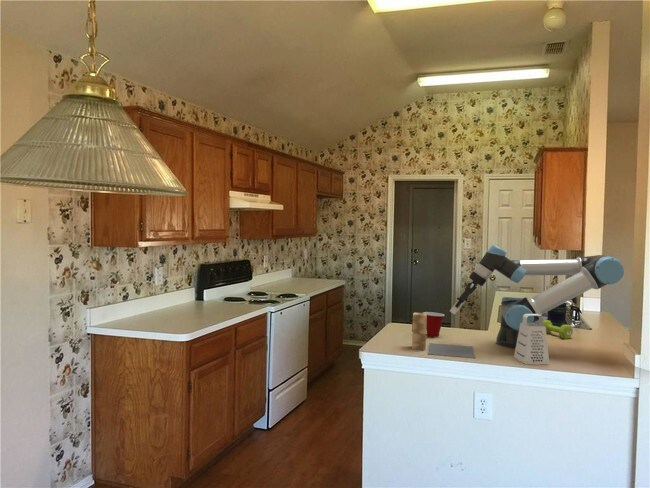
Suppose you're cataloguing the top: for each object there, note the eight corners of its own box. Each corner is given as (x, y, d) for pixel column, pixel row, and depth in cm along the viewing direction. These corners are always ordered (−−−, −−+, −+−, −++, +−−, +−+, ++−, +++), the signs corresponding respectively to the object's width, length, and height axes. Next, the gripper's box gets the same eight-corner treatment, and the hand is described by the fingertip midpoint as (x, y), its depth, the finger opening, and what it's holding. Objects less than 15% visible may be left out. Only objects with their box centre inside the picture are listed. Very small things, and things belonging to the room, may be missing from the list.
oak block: (425, 346, 231) (426, 313, 230) (425, 350, 225) (426, 315, 224) (412, 345, 232) (413, 312, 231) (411, 349, 226) (412, 314, 226)
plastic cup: (448, 336, 252) (449, 313, 251) (433, 339, 246) (434, 315, 245) (432, 332, 261) (433, 310, 260) (418, 335, 255) (418, 312, 254)
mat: (472, 346, 233) (472, 346, 233) (475, 358, 213) (475, 357, 213) (429, 343, 237) (429, 343, 237) (428, 354, 218) (428, 353, 218)
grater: (549, 364, 207) (551, 317, 206) (525, 364, 206) (527, 317, 205) (536, 357, 217) (538, 312, 216) (513, 357, 216) (515, 312, 215)
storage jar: (542, 327, 279) (543, 301, 278) (554, 326, 283) (555, 300, 282) (557, 331, 270) (558, 304, 269) (569, 330, 274) (571, 303, 273)
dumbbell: (537, 333, 266) (538, 319, 266) (548, 331, 269) (548, 318, 269) (563, 340, 251) (563, 326, 251) (574, 338, 254) (574, 325, 254)
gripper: (475, 270, 242) (449, 304, 246) (471, 270, 219) (443, 308, 222) (488, 279, 240) (462, 313, 243) (486, 280, 216) (457, 319, 220)
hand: (453, 311), depth 233 cm, fingers open, 13 cm apart
